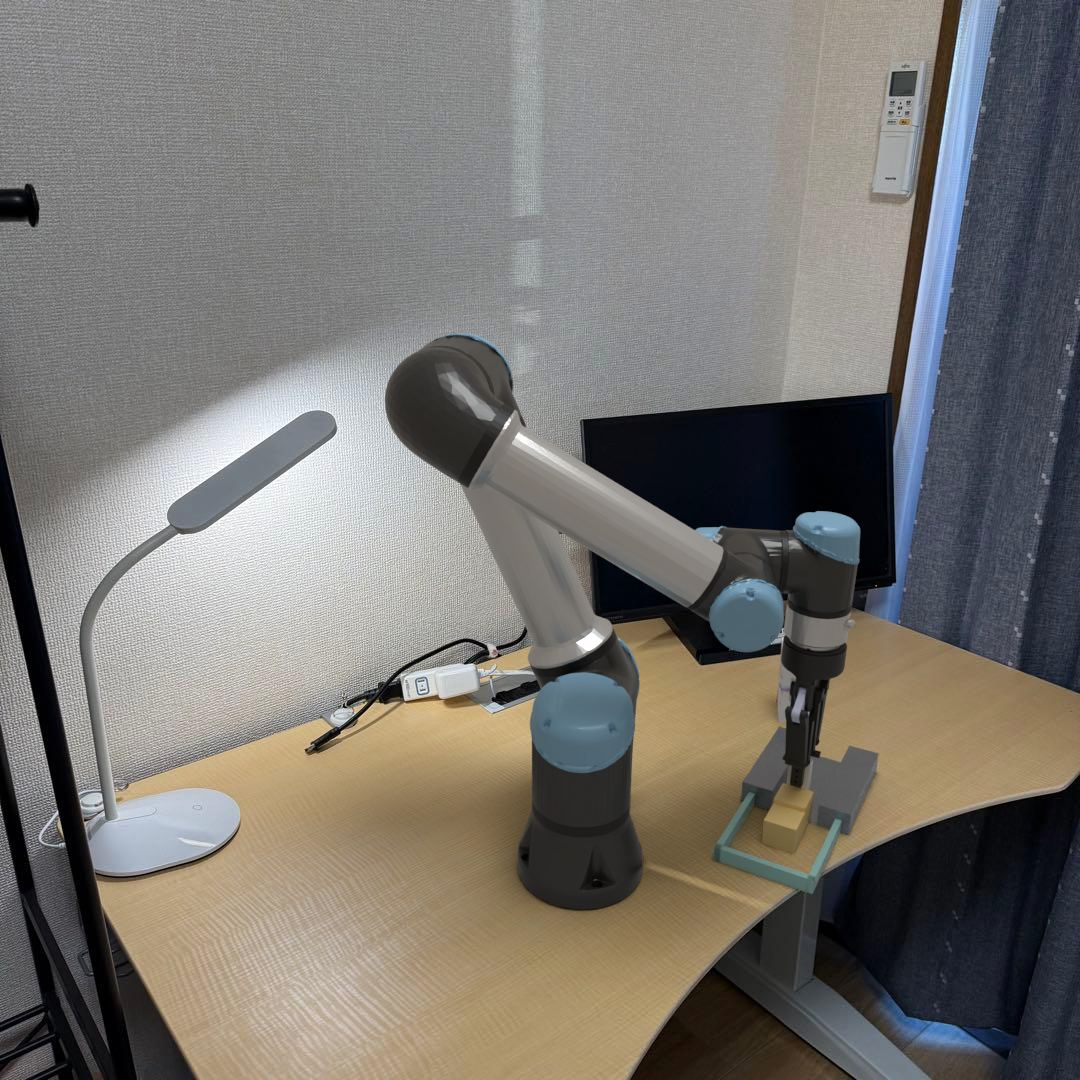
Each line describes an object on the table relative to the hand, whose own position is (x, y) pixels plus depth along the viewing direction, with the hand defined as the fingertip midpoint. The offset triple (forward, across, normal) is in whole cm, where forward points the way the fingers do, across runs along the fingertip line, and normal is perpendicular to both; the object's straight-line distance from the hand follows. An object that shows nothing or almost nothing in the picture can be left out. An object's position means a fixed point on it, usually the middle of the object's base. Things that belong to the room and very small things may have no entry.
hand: (796, 801), depth 125 cm
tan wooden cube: (+2, -7, 0) cm, 7 cm away
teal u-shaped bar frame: (+3, -8, 0) cm, 9 cm away
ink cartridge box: (+3, +25, +8) cm, 27 cm away
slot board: (+3, +6, 0) cm, 7 cm away
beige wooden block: (+1, -3, 0) cm, 3 cm away
